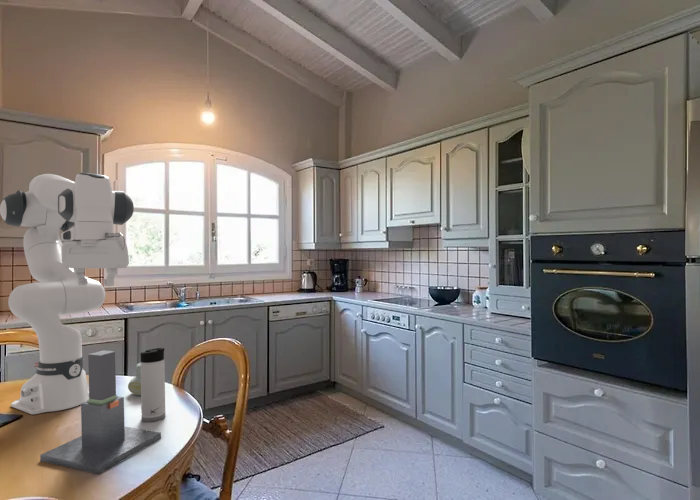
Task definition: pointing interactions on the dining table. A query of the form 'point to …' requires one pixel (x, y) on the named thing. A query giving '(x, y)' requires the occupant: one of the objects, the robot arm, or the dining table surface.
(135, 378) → the air freshener
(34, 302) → the robot arm
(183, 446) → the dining table surface
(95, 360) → the post
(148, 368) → the travel mug
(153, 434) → the stand
